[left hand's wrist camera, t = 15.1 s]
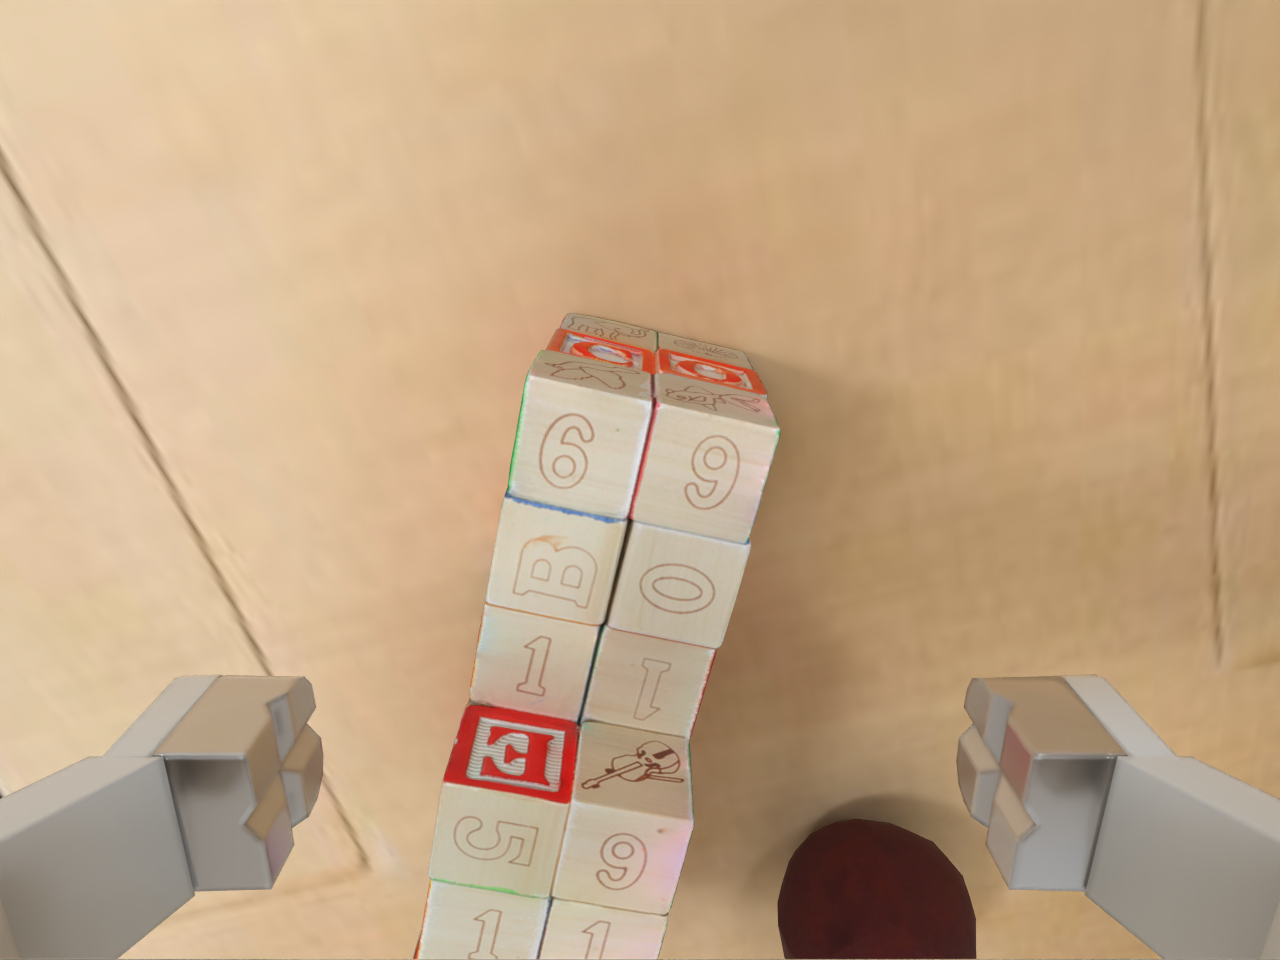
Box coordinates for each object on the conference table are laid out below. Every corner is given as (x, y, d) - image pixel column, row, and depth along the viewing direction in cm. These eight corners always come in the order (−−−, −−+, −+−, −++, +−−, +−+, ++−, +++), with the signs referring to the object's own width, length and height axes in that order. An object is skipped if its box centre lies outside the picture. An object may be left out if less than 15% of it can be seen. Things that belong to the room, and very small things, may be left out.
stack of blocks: (562, 305, 28) (507, 402, 16) (746, 347, 28) (819, 471, 17) (462, 813, 35) (374, 1131, 24) (610, 840, 36) (595, 1164, 24)
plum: (842, 948, 37) (886, 1116, 31) (726, 847, 35) (746, 1003, 29) (980, 859, 36) (1057, 1016, 29) (866, 747, 34) (921, 888, 27)
